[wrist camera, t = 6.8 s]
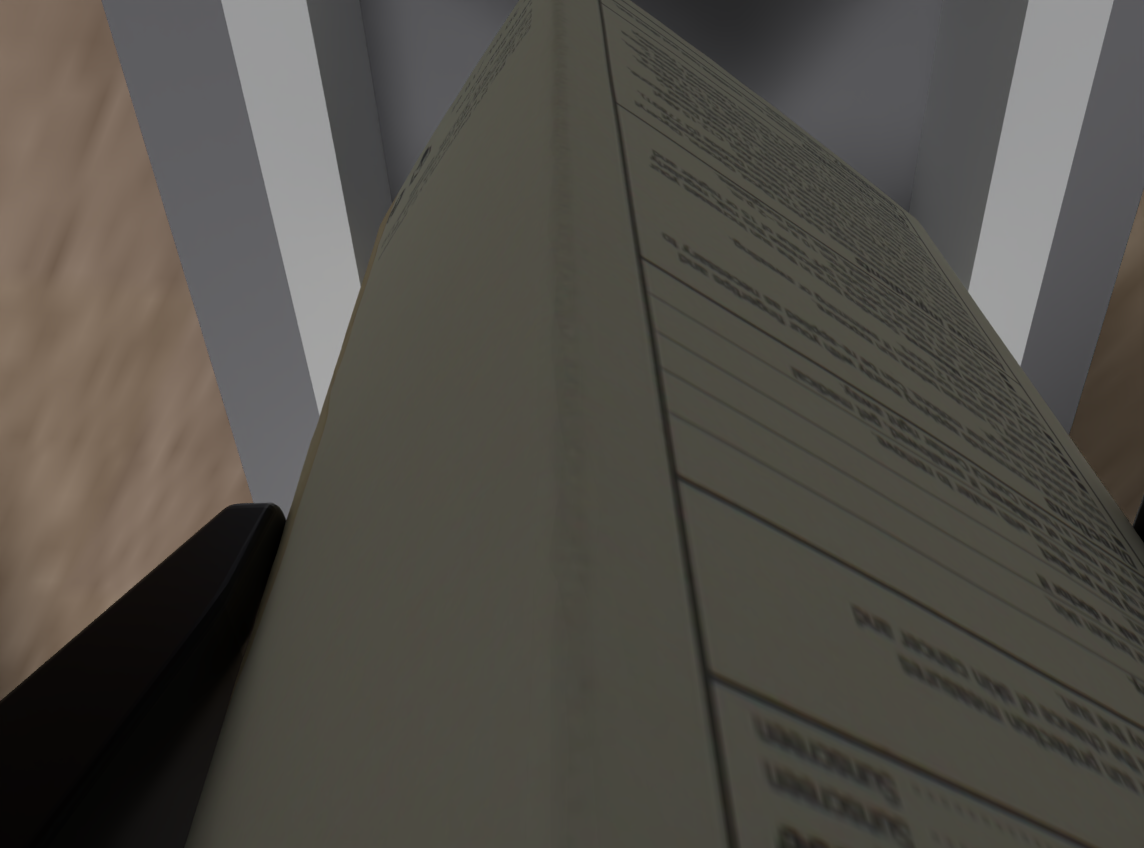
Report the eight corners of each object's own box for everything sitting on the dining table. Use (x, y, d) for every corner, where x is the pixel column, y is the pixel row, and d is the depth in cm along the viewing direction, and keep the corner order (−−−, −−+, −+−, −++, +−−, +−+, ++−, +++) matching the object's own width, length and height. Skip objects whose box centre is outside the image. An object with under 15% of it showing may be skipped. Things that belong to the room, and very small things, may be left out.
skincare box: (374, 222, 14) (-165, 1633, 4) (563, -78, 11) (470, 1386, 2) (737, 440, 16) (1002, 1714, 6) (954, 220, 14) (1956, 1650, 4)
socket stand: (272, 495, 22) (220, 638, 18) (-20, -521, 12) (-231, -591, 9) (1031, 468, 21) (1113, 608, 18) (1334, -605, 12) (1619, -712, 9)
